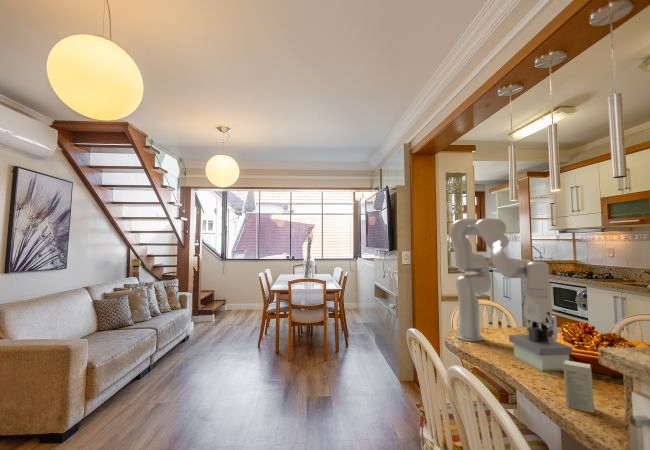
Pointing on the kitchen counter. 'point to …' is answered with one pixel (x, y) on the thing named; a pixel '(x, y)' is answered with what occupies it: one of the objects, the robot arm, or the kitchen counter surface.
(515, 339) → the lid
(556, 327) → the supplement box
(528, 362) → the box
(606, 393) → the kitchen counter surface
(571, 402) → the skincare box
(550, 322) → the robot arm
